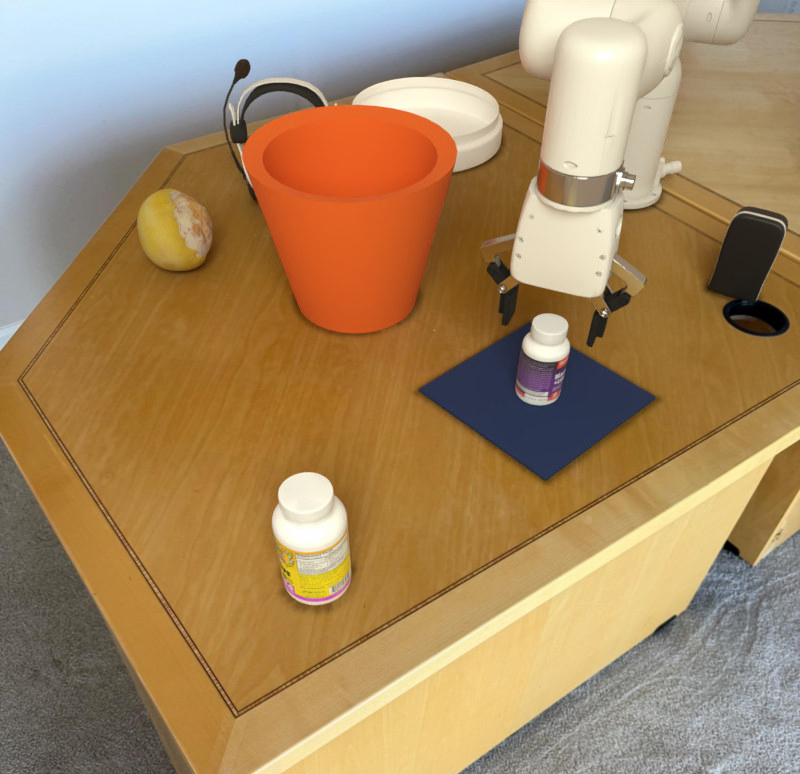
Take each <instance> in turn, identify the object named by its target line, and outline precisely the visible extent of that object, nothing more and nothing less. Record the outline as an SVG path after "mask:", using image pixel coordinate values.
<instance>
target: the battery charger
mask: <svg viewBox="0 0 800 774" xmlns="http://www.w3.org/2000/svg"><path fill="white" fill-rule="evenodd" d="M788 227H789V220H788V218H787V217H786V216H785V215H784V214H781V213H779V212H775V211H772V210H770V209H769V210H768V209H765V208H760V207H756V206H749V205H747V206H744V207H742V208H739V210H738V211H737V212H736V213H735V215H734V216H733V217H732V219H731V220H730V222H729V225H728V227H727V230H726V233H725V235H724V238H723V239H722V243H721V246H720V250H719V253H718V256H717V259H716V263H715V266H714V268H713V269H714V270H713V272H712V274H711V278H710V280H709V283H708V285H707V289H708V290H709V291H712V292H715V293H718V294H721V295H724V296H728V297H730V298H733V299H737V300H741V301H744V302H745V301H746V302H749V303H755V302H756V301H758V299H759V296H760V294H761V291H762V289H763V286H764V284H765V282H766V280H767V278H768V277H769V273H770V272H771V270H772V267H773V265H774V264H775V261H776V259H777V257H778V255H779V252H780V250H781V249H782V248H781V247H782V246H783V242H784V240H785V239H786V238H785V237H786V234H787V231H788Z"/></svg>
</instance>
